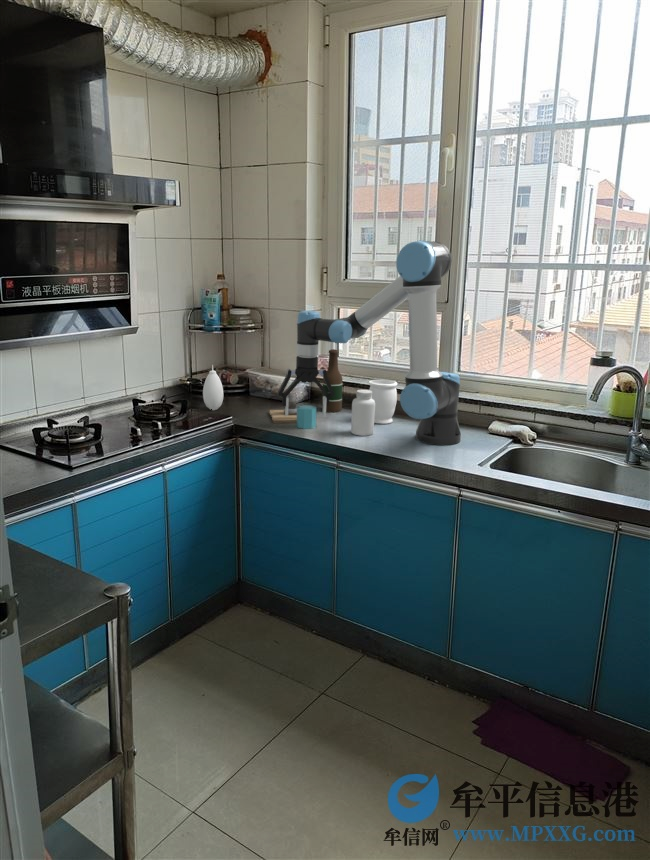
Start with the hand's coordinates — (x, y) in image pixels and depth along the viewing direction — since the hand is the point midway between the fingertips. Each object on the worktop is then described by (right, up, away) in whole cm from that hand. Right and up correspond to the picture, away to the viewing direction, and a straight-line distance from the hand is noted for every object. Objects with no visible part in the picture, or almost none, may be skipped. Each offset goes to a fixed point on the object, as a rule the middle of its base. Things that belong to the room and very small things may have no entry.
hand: (305, 414), depth 238 cm
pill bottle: (+20, -7, -6) cm, 22 cm away
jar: (+28, -2, +10) cm, 30 cm away
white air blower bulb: (-36, +2, +21) cm, 42 cm away
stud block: (-7, -1, +12) cm, 14 cm away
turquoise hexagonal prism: (0, -4, +1) cm, 4 cm away
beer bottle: (+10, +2, +25) cm, 27 cm away
